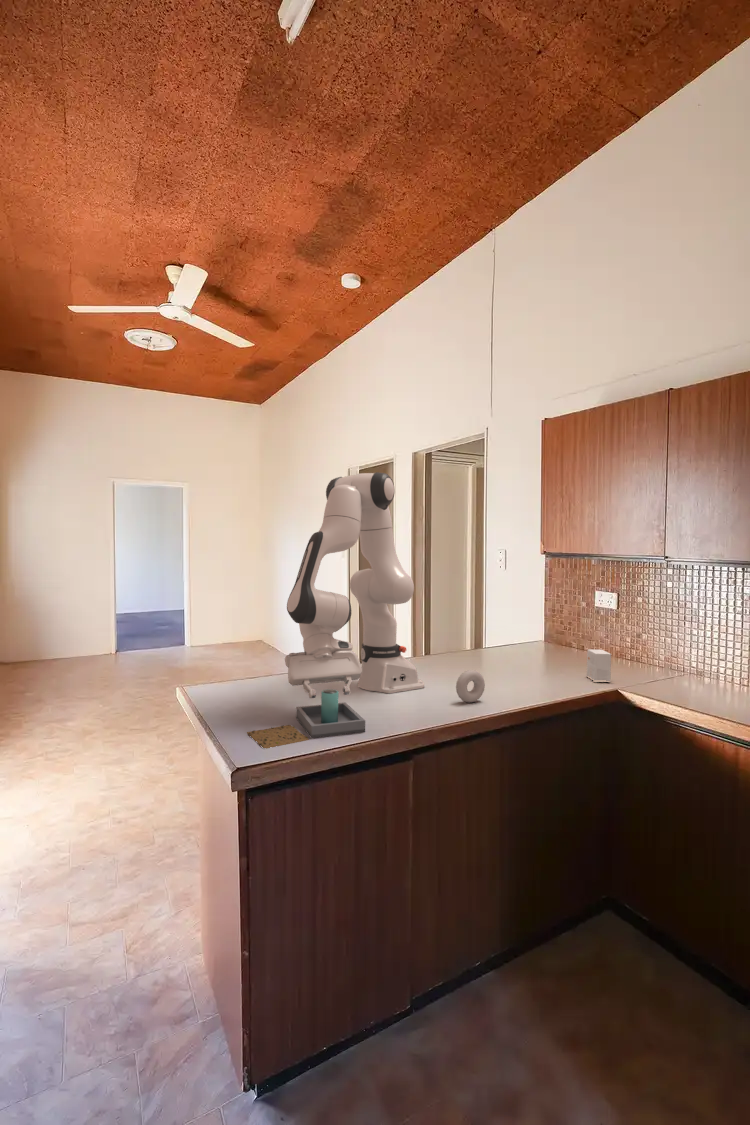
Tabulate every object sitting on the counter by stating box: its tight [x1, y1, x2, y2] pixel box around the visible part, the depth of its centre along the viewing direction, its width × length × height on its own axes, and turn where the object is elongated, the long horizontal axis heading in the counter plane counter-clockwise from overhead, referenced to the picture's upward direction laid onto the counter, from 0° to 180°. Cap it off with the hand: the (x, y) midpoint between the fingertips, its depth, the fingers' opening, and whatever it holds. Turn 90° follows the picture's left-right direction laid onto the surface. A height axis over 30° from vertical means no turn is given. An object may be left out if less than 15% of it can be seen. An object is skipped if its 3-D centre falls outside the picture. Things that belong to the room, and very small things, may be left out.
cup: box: [320, 688, 340, 724], centre depth 143 cm, size 4×4×8 cm
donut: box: [455, 669, 486, 703], centre depth 165 cm, size 10×4×10 cm, turn 116°
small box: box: [586, 648, 612, 682], centre depth 195 cm, size 8×6×10 cm
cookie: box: [246, 724, 310, 749], centre depth 134 cm, size 12×12×1 cm
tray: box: [295, 701, 366, 739], centre depth 143 cm, size 14×16×3 cm
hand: (330, 695), depth 143 cm, fingers open, 8 cm apart
